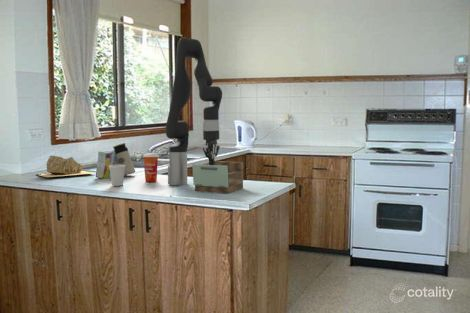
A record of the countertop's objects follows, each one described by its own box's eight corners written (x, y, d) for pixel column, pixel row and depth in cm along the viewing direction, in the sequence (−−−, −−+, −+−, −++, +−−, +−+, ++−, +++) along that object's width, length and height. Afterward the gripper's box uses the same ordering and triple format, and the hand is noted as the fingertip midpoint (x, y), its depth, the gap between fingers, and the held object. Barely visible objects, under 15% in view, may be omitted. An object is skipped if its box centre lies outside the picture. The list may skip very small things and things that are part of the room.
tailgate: (192, 186, 238) (191, 164, 236) (194, 185, 239) (193, 163, 237) (226, 189, 230) (225, 166, 228) (228, 187, 232) (227, 165, 230)
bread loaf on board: (46, 176, 280) (41, 151, 286) (39, 192, 296) (33, 168, 301) (95, 172, 296) (89, 148, 302) (85, 188, 312) (80, 164, 318)
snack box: (113, 172, 302) (117, 148, 300) (121, 174, 301) (125, 150, 298) (94, 177, 282) (98, 150, 280) (103, 179, 280) (107, 152, 278)
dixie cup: (105, 185, 258) (105, 165, 257) (116, 183, 265) (116, 164, 264) (118, 186, 254) (117, 166, 253) (129, 184, 261) (128, 165, 260)
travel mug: (128, 174, 296) (118, 145, 296) (138, 171, 292) (128, 141, 292) (119, 177, 289) (109, 147, 289) (129, 173, 285) (119, 143, 285)
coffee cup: (140, 181, 270) (140, 154, 269) (147, 179, 278) (147, 152, 276) (154, 182, 268) (154, 154, 266) (161, 180, 275) (161, 153, 274)
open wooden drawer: (194, 190, 240) (194, 163, 239) (210, 186, 254) (210, 160, 253) (228, 193, 232) (228, 165, 231) (242, 188, 247) (243, 162, 245)
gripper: (210, 128, 241) (211, 164, 242) (197, 130, 229) (197, 167, 230) (224, 128, 237) (225, 165, 239) (211, 130, 225) (212, 168, 227)
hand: (211, 166), depth 235 cm, fingers closed
